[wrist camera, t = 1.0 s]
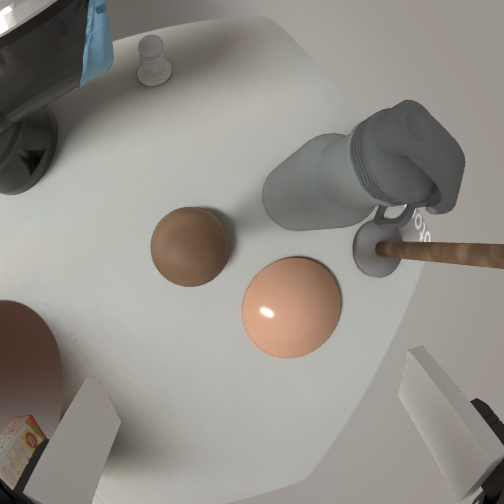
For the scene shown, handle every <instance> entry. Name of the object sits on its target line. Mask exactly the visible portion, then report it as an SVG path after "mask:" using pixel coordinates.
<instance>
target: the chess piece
mask: <svg viewBox="0 0 504 504" xmlns="http://www.w3.org/2000/svg"><path fill="white" fill-rule="evenodd" d="M162 48H163V42H162V40H161V38H160V37H158V36H156V35H148V36H145V37H144V38H143V39H142V40H141V41H140V42H139V45H138V50H139V52H140V60H141V62H142V64H141V66H140V67H139V69H138V73H137V76H138V79H139V81H140V82H141V83H143V84H144V85H147V86H157V85H160V84H162V83H164V82H165V81H167V80H168V78H169V77H170V75H171V73H172V66H171V64H170V63H169V62H168V61H167V60H166V59H163V58H164V51H163V49H162Z"/></svg>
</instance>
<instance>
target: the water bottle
mask: <svg viewBox="0 0 504 504" xmlns="http://www.w3.org/2000/svg"><path fill="white" fill-rule="evenodd" d="M464 167H465V157H464V153H463V151H462V149H461V147H460V146H459V144H458V143H457V141H456V140H455V139H454V138H453V137H452V136H451V135H450V134H449V132H448V131H447V130H446V129H445V128H444V127H443V126H442V125H441V124H440V123H439V122H438V121H437V120H436V119H435V118H434V117H432V116H431V115H430V113H429V112H428V111H427V110H426V109H425V108H424V107H423V106H422V105H420V104H419V103H418V102H416V101H413V100H404V101H402V102H401V103H399V104H397V105H396V106H394V107H392V108H387V109H383V110H381V111H379V112H377V113H375V114H373V115H372V116H371V117H369V118H368V119H366V120H364V121H363V122H361V123H359V124H358V125H357V126H356V127H355V128H354V129H353V130H352V132H351V133H350V134H348V135H347V136H345V135H342V134H335V133H333V134H323V135H320V136H317V137H315V138H313V139H311V140H310V141H308V142H307V143H305V144H304V145H303V146H302V147H300V148H299V149H298V150H297V151H296V152H294V153H293V154H292V155H291V156H290V157H288V158H287V159H286V160H285V161H284V162H282V163H281V164H280V165H279V166H278V167H277V168H275V169H274V170H273V171H272V172H271V173H270V174H269V176H268V177H267V179H266V181H265V184H264V187H263V203H264V207H265V209H266V211H267V213H268V215H269V216H270V218H271V219H272V220H273V221H274V222H275V223H276V224H278V225H279V226H281V227H283V228H285V229H288V230H292V231H306V230H319V229H333V228H344V227H349V226H353V225H355V224H357V223H360V222H361V221H362V220H364V219H365V218H366V217H368V215H369V214H370V213H371V212H372V211H373V209H374V207H375V206H377V205H379V207H378V210H377V212H376V215H375V218H374V223H375V224H376V225H377V226H378V227H380V228H400V227H403V226H405V225H406V224H407V223H408V222H409V221H410V219H411V218H412V215H413V213H414V210H415V208H419V207H426V210H427V211H428V212H429V213H430V214H444V213H448V212H449V211H451V210H452V209H453V208H454V207H455V205H456V201H457V197H458V194H459V190H460V186H461V181H462V176H463V173H464ZM404 204H407V206H406V208H405V210H404V211H403V213H402V214H401V215H400V216H399V217H397V218H394V219H384V213H385V211H386V208H387V206H389V207H392V206H398V205H404Z"/></svg>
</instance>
